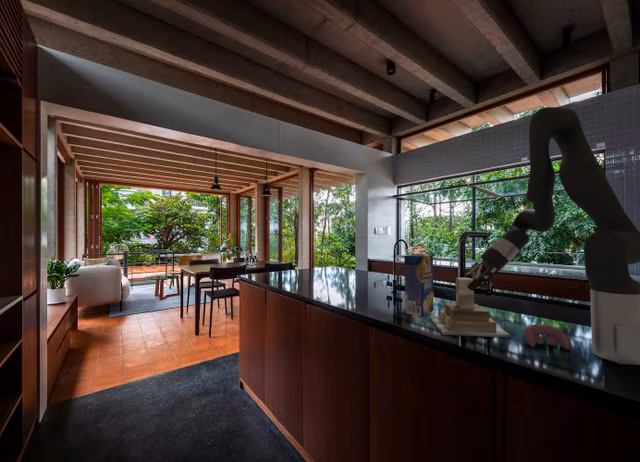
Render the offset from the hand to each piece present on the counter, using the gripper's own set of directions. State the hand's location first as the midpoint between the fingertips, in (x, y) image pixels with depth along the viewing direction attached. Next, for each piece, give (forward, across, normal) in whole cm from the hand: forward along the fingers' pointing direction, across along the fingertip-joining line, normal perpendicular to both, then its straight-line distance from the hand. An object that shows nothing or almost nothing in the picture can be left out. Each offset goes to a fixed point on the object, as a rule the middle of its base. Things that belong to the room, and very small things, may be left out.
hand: (465, 286), depth 99 cm
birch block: (+5, -1, +5) cm, 7 cm away
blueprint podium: (+10, -1, +10) cm, 14 cm away
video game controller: (-2, +14, +22) cm, 27 cm away
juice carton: (+18, -20, +2) cm, 27 cm away
